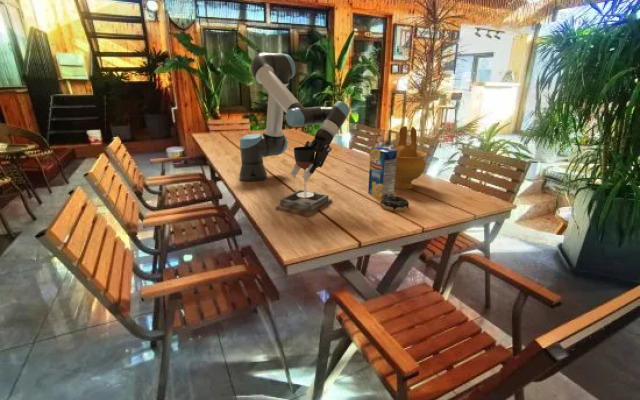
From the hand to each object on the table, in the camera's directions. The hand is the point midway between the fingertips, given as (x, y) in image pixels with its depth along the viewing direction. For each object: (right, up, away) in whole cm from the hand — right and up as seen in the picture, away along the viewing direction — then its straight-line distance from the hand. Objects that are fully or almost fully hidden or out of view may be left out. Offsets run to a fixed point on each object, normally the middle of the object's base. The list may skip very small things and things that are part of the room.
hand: (298, 177), depth 137 cm
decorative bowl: (+51, -2, +34) cm, 61 cm away
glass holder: (+2, -12, +7) cm, 14 cm away
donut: (+41, -13, +5) cm, 43 cm away
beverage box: (+38, -7, +20) cm, 43 cm away
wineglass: (+3, -7, +5) cm, 9 cm away
